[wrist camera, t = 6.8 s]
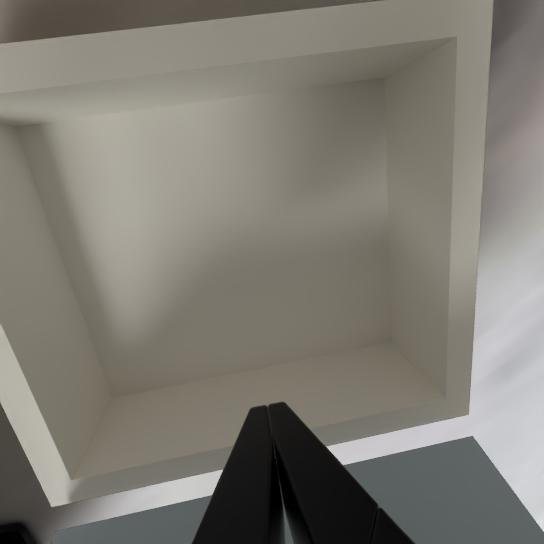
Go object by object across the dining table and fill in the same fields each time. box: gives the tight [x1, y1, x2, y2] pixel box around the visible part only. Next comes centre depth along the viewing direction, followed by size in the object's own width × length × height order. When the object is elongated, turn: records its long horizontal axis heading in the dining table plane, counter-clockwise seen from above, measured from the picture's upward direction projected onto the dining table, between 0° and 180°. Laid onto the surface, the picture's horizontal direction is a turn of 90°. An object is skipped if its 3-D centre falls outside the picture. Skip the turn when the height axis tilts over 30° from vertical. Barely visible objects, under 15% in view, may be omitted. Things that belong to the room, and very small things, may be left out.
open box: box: [0, 0, 494, 507], centre depth 13 cm, size 14×16×5 cm
